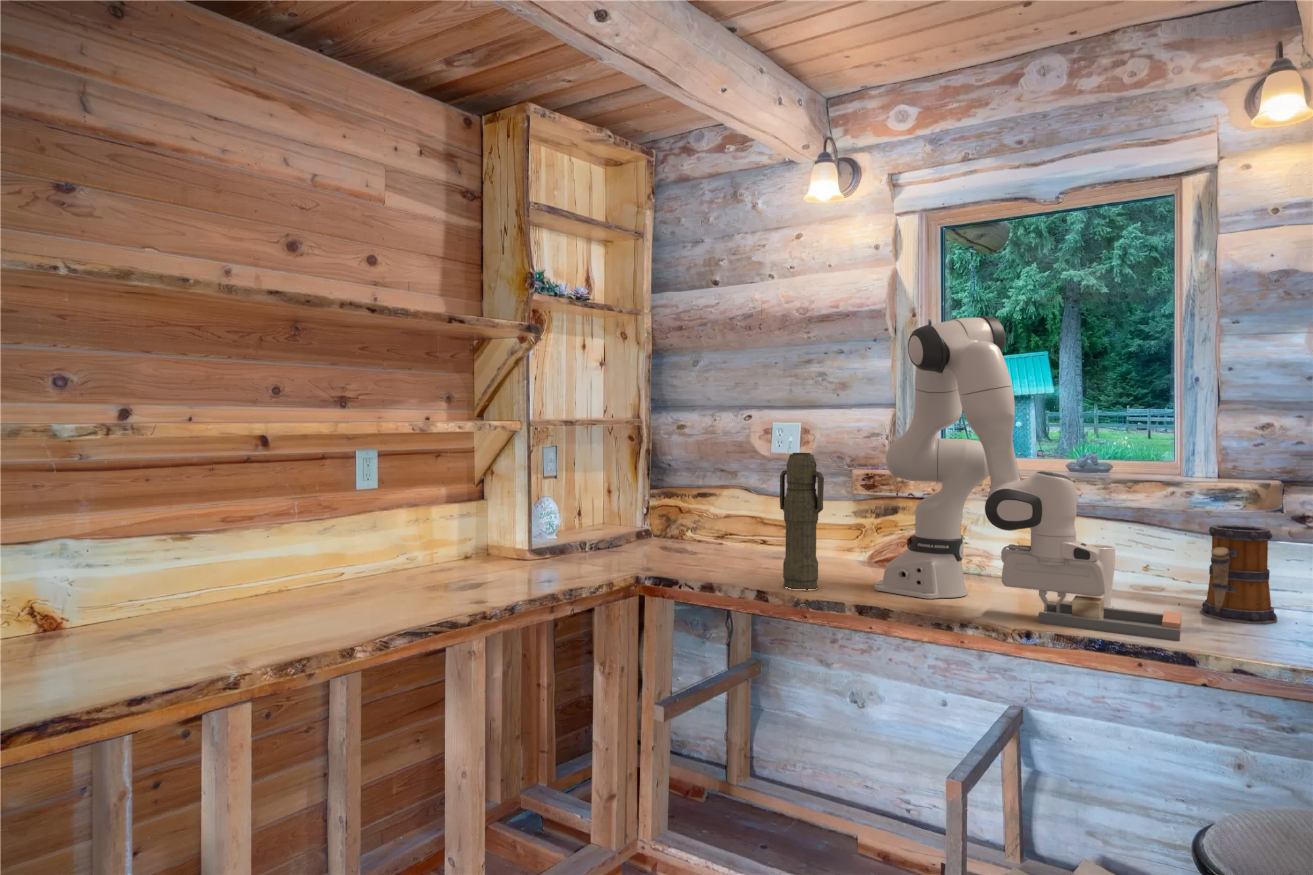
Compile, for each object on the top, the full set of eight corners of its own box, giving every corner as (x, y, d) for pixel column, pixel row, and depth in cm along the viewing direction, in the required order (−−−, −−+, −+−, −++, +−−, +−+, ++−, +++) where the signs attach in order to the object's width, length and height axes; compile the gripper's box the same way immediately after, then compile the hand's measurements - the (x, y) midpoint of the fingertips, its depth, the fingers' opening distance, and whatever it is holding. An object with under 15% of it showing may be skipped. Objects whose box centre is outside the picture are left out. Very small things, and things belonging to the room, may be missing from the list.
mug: (1254, 631, 174) (1256, 535, 173) (1178, 617, 185) (1180, 527, 185) (1288, 618, 185) (1290, 528, 184) (1215, 606, 197) (1216, 521, 196)
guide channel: (1038, 629, 174) (1038, 608, 174) (1048, 616, 186) (1049, 596, 186) (1179, 648, 160) (1180, 625, 160) (1181, 632, 172) (1181, 611, 172)
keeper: (1071, 624, 173) (1072, 600, 173) (1077, 615, 180) (1077, 592, 180) (1099, 627, 170) (1099, 603, 170) (1103, 618, 178) (1103, 595, 177)
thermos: (817, 593, 209) (818, 454, 208) (773, 588, 215) (774, 453, 214) (828, 587, 217) (829, 453, 216) (785, 582, 223) (786, 451, 222)
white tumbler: (1094, 615, 187) (1095, 548, 187) (1074, 608, 194) (1075, 544, 193) (1121, 613, 188) (1122, 548, 188) (1099, 607, 195) (1100, 543, 195)
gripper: (998, 545, 182) (997, 608, 182) (1104, 553, 170) (1103, 621, 171) (1004, 541, 187) (1003, 603, 187) (1107, 549, 176) (1106, 615, 176)
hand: (1052, 611), depth 179 cm, fingers closed
